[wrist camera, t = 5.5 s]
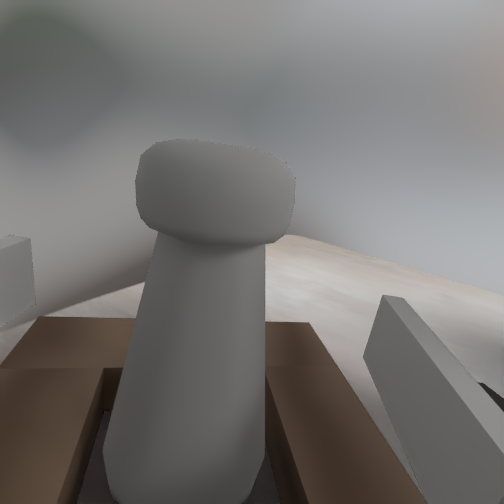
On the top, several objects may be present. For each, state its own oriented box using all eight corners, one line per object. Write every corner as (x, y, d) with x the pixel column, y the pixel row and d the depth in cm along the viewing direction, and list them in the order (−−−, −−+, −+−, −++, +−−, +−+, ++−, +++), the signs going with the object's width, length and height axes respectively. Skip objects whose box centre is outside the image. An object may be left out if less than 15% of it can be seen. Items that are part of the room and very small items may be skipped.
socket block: (301, 353, 22) (308, 322, 21) (540, 805, 7) (595, 759, 6) (42, 354, 18) (39, 316, 17) (-575, 1307, 3) (-789, 1354, 3)
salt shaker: (66, 547, 10) (38, 117, 6) (146, 410, 16) (161, 133, 11) (242, 598, 10) (345, 166, 5) (262, 438, 15) (322, 159, 11)
